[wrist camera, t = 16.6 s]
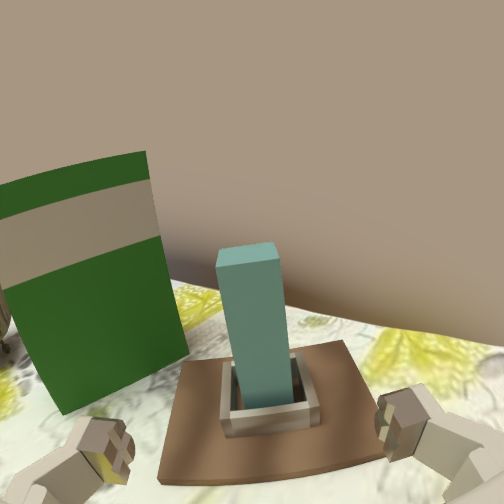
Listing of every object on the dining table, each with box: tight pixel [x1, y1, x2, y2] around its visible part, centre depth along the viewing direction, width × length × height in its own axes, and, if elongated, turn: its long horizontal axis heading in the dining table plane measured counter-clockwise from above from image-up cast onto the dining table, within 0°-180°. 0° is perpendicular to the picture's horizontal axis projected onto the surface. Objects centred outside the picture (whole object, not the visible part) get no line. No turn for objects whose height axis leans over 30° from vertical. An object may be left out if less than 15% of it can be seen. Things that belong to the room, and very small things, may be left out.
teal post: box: [216, 242, 294, 410], centre depth 23 cm, size 4×4×14 cm
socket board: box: [157, 340, 386, 486], centre depth 25 cm, size 18×16×4 cm
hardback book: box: [0, 151, 190, 415], centre depth 30 cm, size 18×7×24 cm, turn 133°
